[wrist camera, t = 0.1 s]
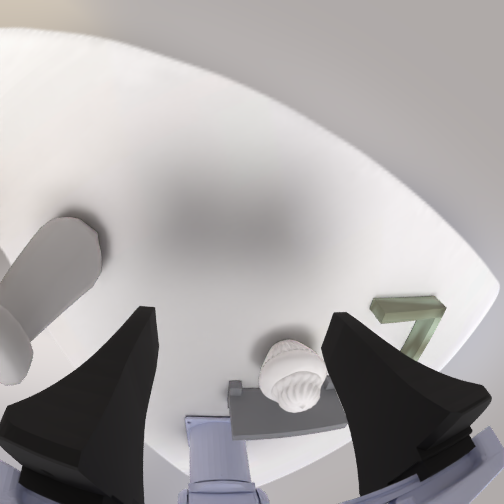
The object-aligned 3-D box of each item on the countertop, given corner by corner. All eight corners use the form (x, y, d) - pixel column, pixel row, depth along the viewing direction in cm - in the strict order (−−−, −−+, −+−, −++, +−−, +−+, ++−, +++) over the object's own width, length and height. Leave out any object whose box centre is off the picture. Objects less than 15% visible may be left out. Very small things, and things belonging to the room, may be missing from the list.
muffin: (279, 317, 23) (299, 379, 17) (328, 339, 25) (354, 393, 19) (240, 361, 25) (249, 421, 19) (289, 377, 27) (305, 430, 21)
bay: (393, 373, 30) (401, 385, 28) (335, 383, 29) (342, 398, 27) (434, 295, 25) (446, 307, 23) (373, 298, 24) (385, 313, 22)
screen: (325, 395, 30) (340, 433, 24) (227, 401, 28) (231, 445, 22) (335, 375, 28) (353, 415, 23) (229, 380, 26) (234, 429, 21)
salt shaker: (107, 206, 17) (-7, 318, 6) (117, 277, 20) (53, 415, 8) (45, 210, 17) (-69, 301, 5) (58, 274, 19) (-20, 387, 7)
